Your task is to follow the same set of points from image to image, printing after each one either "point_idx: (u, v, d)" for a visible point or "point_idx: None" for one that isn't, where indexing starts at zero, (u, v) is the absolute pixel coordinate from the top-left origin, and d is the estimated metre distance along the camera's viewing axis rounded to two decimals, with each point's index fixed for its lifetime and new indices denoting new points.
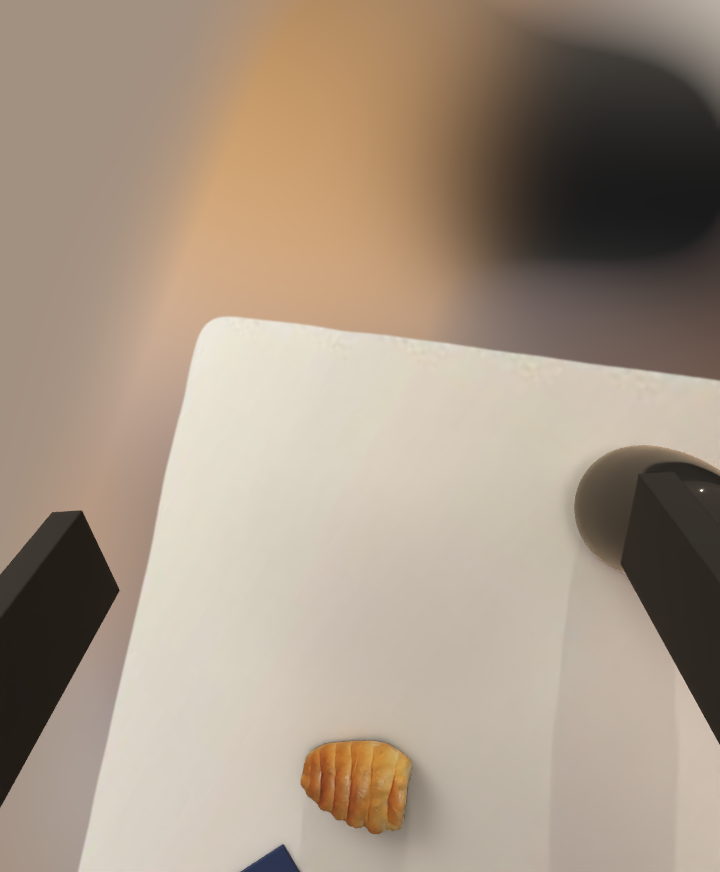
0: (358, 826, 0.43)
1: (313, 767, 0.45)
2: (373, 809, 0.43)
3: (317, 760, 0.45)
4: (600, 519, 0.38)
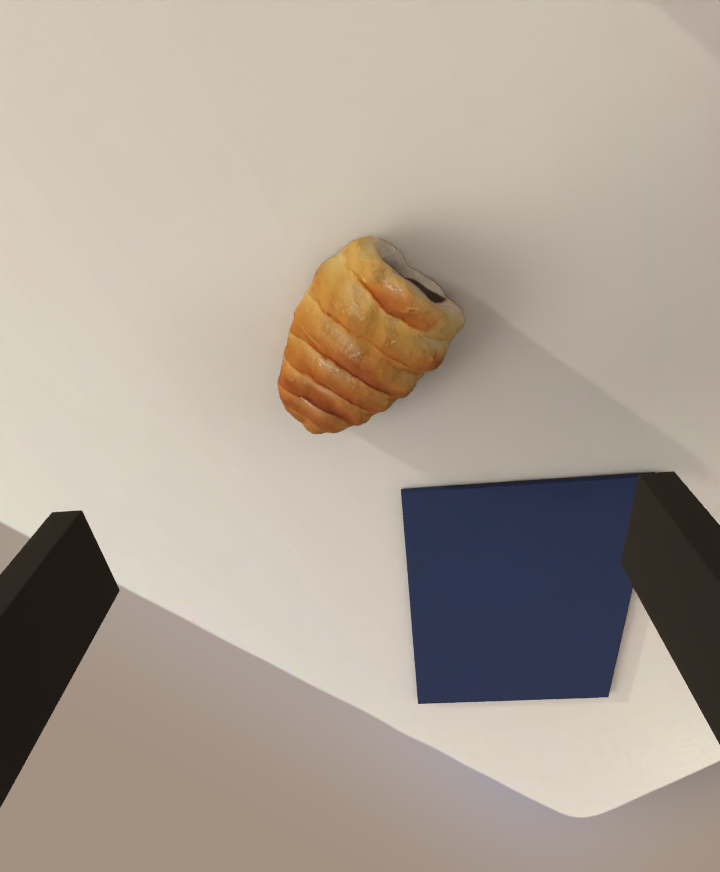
0: (407, 383, 0.23)
1: (293, 404, 0.25)
2: (388, 347, 0.22)
3: (285, 394, 0.25)
4: None
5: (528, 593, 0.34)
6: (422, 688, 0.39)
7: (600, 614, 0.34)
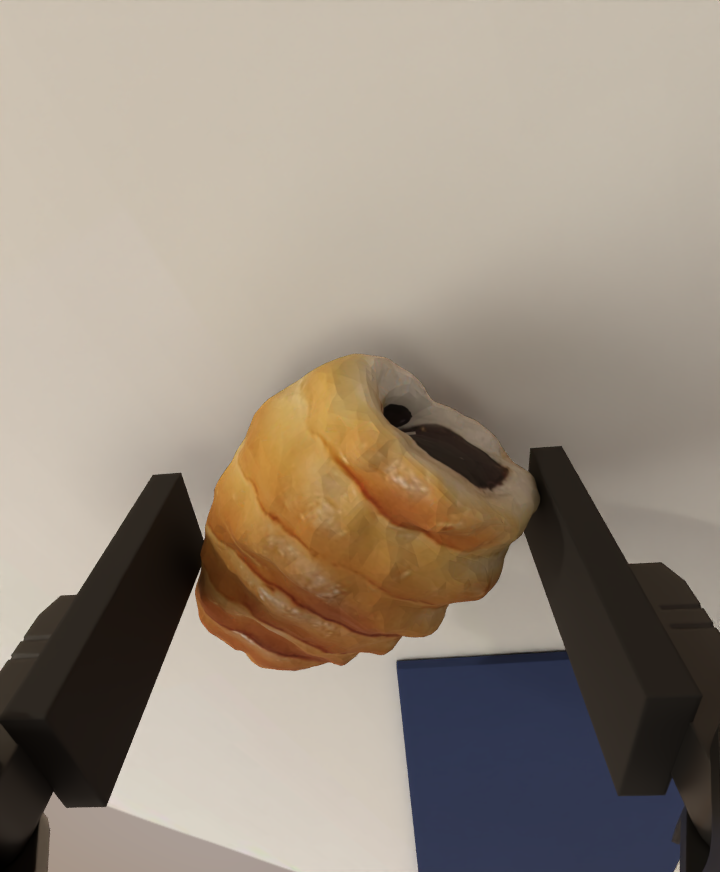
0: (432, 627, 0.12)
1: (222, 635, 0.14)
2: (396, 583, 0.11)
3: (206, 618, 0.14)
4: None
5: (574, 778, 0.24)
6: None
7: (672, 799, 0.25)
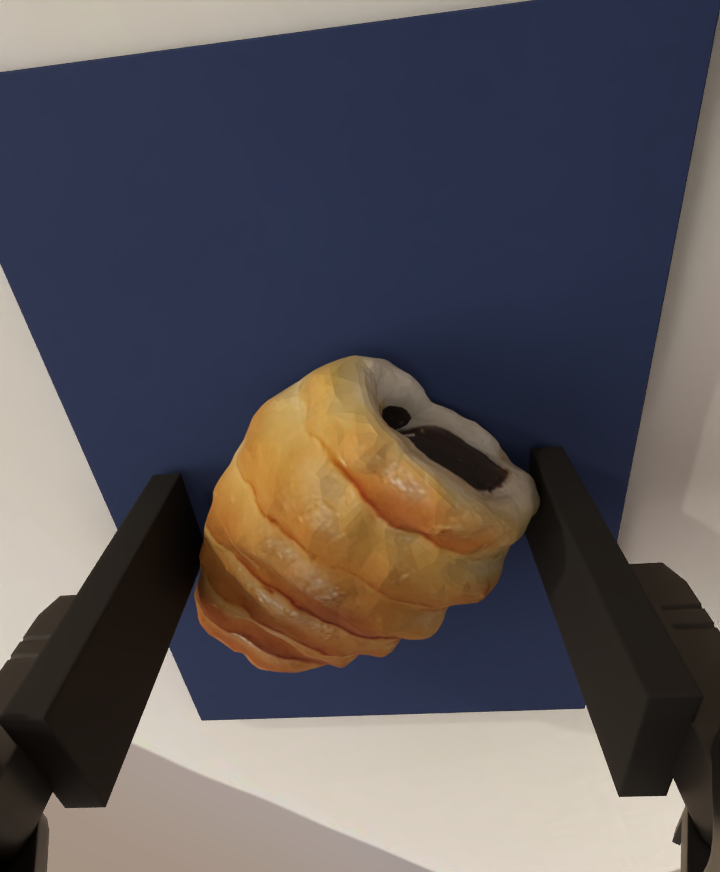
0: (431, 630, 0.12)
1: (221, 637, 0.14)
2: (395, 585, 0.11)
3: (206, 621, 0.14)
4: None
5: None
6: (198, 689, 0.19)
7: None
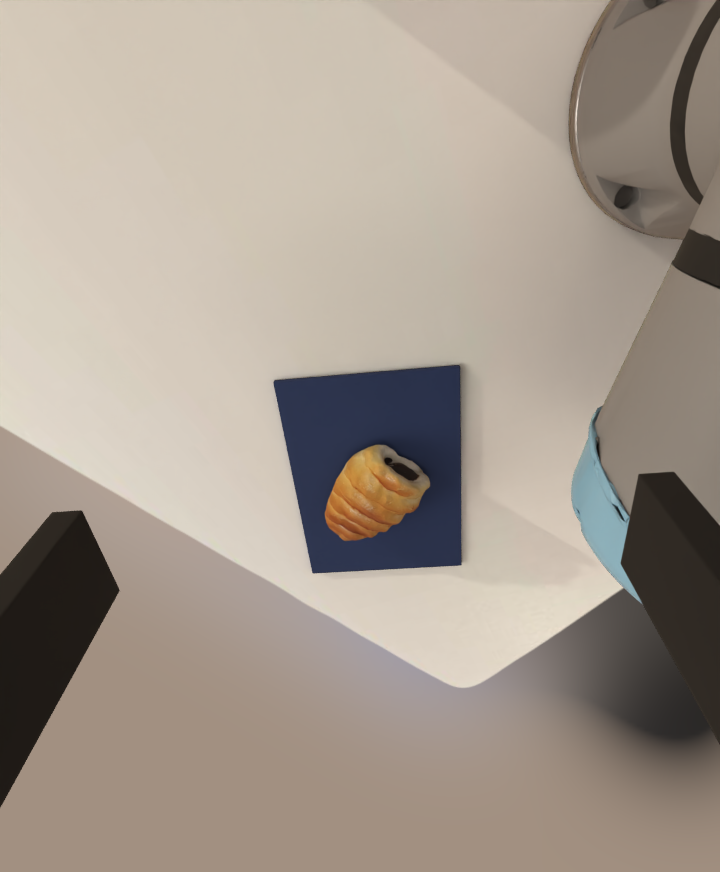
0: (398, 520, 0.42)
1: (334, 527, 0.44)
2: (387, 505, 0.41)
3: (329, 521, 0.44)
4: None
5: None
6: (313, 558, 0.49)
7: (440, 487, 0.44)
